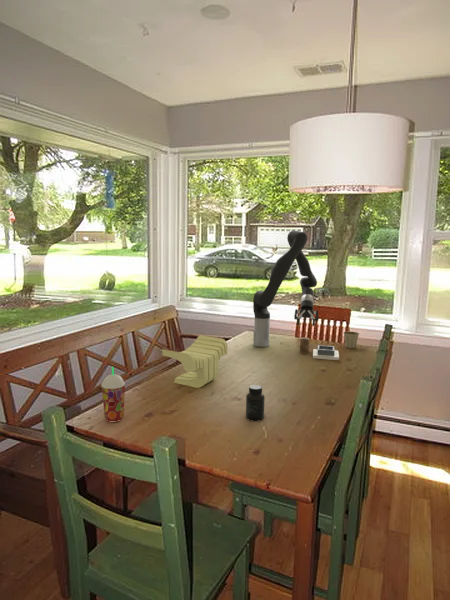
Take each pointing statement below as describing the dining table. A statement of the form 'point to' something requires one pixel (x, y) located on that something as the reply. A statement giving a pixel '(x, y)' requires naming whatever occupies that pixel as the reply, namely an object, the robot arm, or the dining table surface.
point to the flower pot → (351, 339)
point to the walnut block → (304, 345)
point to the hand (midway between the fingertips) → (305, 325)
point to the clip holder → (325, 353)
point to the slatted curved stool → (199, 360)
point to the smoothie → (113, 396)
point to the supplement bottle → (255, 403)
